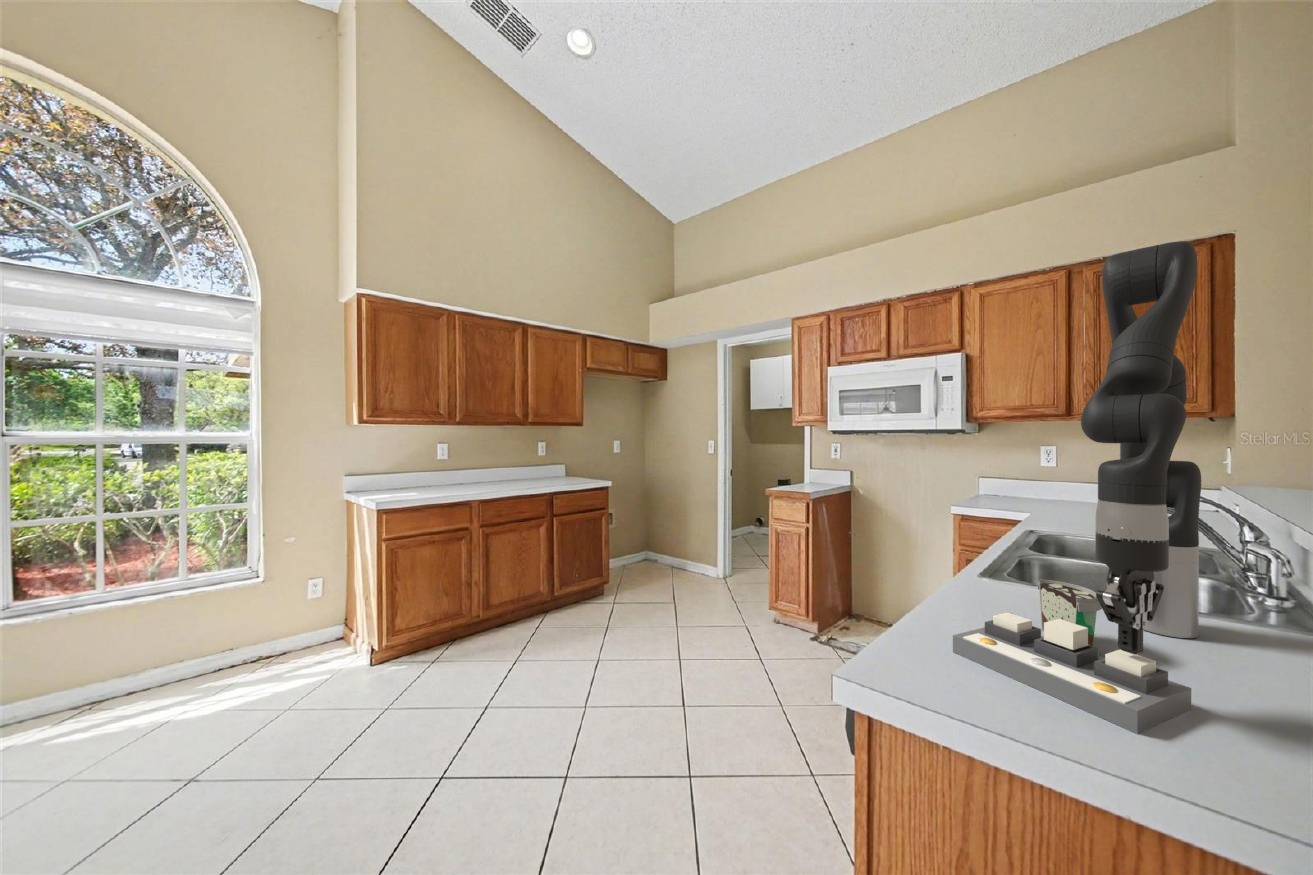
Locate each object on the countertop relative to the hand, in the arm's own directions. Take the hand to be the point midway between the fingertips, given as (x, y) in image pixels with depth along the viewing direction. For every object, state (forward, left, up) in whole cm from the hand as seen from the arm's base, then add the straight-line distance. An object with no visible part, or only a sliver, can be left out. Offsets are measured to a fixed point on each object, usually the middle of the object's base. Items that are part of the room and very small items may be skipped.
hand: (1130, 651), depth 69 cm
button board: (+2, -8, -7) cm, 11 cm away
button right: (0, 0, -4) cm, 4 cm away
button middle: (0, -8, -2) cm, 8 cm away
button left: (0, -16, -4) cm, 16 cm away
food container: (-15, -14, -7) cm, 22 cm away
